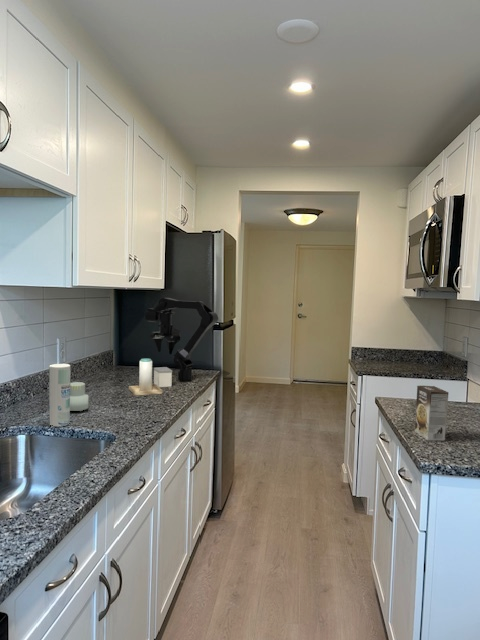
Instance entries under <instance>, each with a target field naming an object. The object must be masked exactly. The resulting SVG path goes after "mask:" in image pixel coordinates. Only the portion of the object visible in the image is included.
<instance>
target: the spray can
mask: <svg viewBox="0 0 480 640" xmlns="http://www.w3.org/2000/svg"><path fill="white" fill-rule="evenodd" d="M48 375H49V376H48V379H49V381H48V385H49V388H48V393H49V398H48V399H49V400H48V401H49V404H48V405H49V418H48V419H49V426H50V425H53V426H61V425H67V424H69V423H70V421H71V420H70V419H71V416H70V415H71V412H70V383H71V364H68V363H53V364H50V365H49V367H48ZM69 425H70V424H69Z"/></svg>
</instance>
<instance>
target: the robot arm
mask: <svg viewBox="0 0 480 640" xmlns="http://www.w3.org/2000/svg"><path fill="white" fill-rule="evenodd" d="M173 309H190V310H191V309H195V310H196V311H197V313H198V315H199V316H200V317H201V318H200V321H199V325H198V327H197V329H196V330H195V332H194V333H193V335H192V336H191V337H190V339H189V340H188V341H187V343H186V345H185V346H184V347H182V348H179V349H178V348H177V350H176V353H175V354H174V355H173V363H174V365H175V368H176V381H178V382H180V383H184V382H193V379H192V373H193V372H192V371H193V370H192V369H193V367H194V363H193V361H192V360H191V358H192V353H193V352H194V350H195V348H196V347H197V346H198V344H199V343H200V341H201V340H202V338H203V337H204V336H205V334H206V333H207V332H208V330H210V329H211V328H212V327H213V326H214V325H215V324H216V323H217V322H218V321H219V316H218V314H217V313H216V312H215V311H213V310H212V309H211V308H210V307H209V306H208V305H206V303H205V302H204V301H201V300H199V301H193V300H179V299H175V298H171V297H162V298H160V299H159V300H158V303H157V304H156V307H155V308H147V311H146V312H145V316H144V317H145V318H144V319H145V321H146V322H151V323H158V322H159V324H157V327H159V331H151V332H150V334H149V338H150V339H151V341H152V342H153V343H154V346H155V348H156V350H157V352H158V353H161V350H162V344H163V343H162V342H163V340H164V339H166V341H165V342H166V346H167V351H168V355H172V353H173V351H174V348H175V345H176V344H177V343H179V342H180V341H182V340H181V339H182V338H181V337H182V336H181V330H180V329H177V328H175V327H174V324H172V315H175V314H176V312H175V311H174V310H173Z"/></svg>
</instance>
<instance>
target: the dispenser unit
mask: <svg viewBox="0 0 480 640" xmlns="http://www.w3.org/2000/svg"><path fill="white" fill-rule="evenodd" d="M172 376H173V370H172V369H171V368H169V367H167V366H162V367H153V385H156V386H158V387H159V388H166V387H172V379H173V377H172Z"/></svg>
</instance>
